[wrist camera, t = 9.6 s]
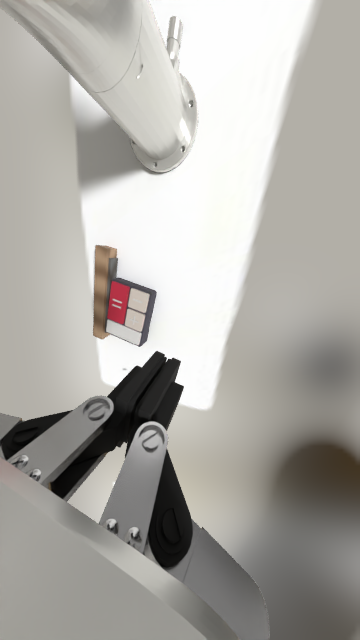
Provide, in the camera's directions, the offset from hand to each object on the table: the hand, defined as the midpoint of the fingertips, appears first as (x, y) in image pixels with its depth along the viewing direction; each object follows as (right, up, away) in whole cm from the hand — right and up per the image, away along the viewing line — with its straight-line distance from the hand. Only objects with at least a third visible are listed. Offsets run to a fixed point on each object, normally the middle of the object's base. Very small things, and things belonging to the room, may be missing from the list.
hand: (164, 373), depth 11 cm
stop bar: (-18, +10, +35) cm, 41 cm away
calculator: (-11, +6, +35) cm, 37 cm away
